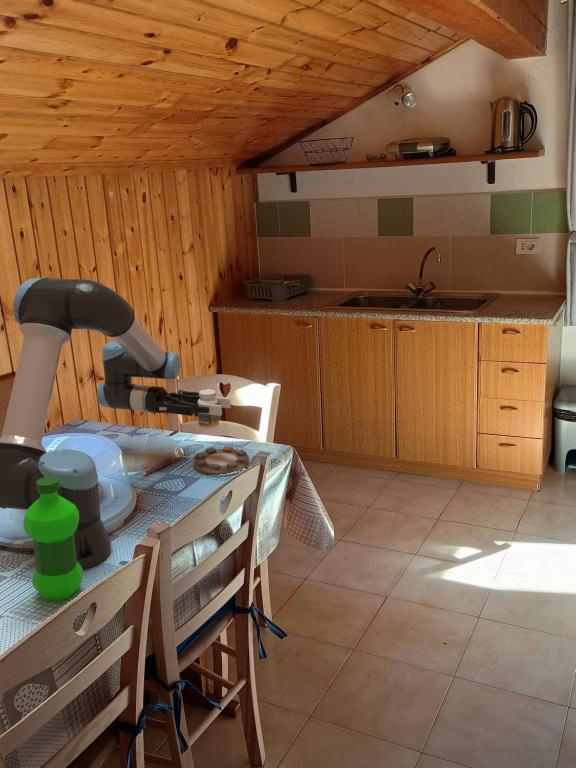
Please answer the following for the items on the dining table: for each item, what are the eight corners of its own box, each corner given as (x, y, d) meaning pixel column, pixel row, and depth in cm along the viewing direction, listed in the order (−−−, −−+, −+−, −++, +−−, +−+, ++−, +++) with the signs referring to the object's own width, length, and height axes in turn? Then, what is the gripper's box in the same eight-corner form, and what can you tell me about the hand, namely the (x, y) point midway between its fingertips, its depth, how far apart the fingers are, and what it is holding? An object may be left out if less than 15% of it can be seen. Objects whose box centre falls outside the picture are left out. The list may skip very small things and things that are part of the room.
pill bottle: (215, 429, 208) (214, 395, 205) (195, 428, 209) (194, 394, 206) (221, 422, 214) (220, 389, 211) (201, 421, 215) (200, 388, 212)
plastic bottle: (48, 577, 159) (35, 468, 152) (94, 582, 157) (84, 472, 150) (23, 604, 150) (8, 489, 143) (72, 610, 148) (60, 494, 141)
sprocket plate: (240, 478, 206) (240, 470, 205) (185, 473, 210) (184, 465, 209) (255, 456, 221) (255, 448, 220) (203, 451, 224) (203, 444, 224)
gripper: (165, 401, 224) (238, 408, 218) (134, 422, 208) (212, 431, 201) (163, 377, 222) (237, 384, 216) (133, 396, 205) (211, 404, 199)
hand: (225, 406), depth 208 cm, fingers closed on pill bottle, 6 cm apart
